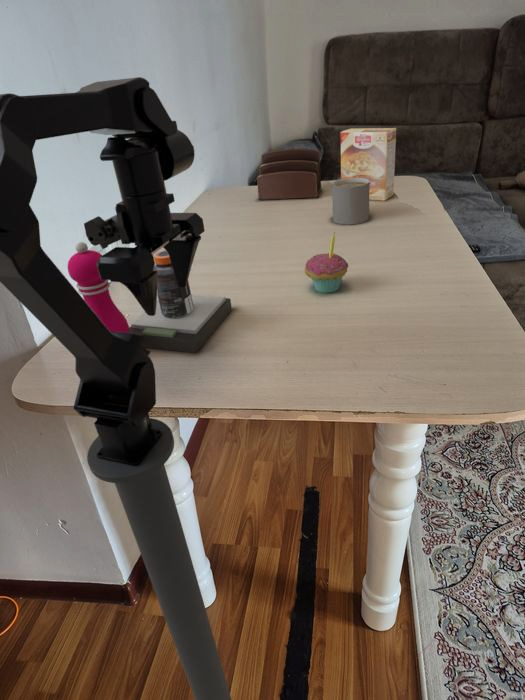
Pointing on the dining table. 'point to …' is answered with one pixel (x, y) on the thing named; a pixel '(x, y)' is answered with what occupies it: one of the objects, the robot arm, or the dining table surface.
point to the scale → (182, 325)
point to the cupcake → (326, 270)
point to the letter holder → (289, 174)
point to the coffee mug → (350, 200)
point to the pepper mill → (95, 288)
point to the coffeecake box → (370, 158)
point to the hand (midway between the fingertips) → (167, 300)
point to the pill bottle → (171, 289)
